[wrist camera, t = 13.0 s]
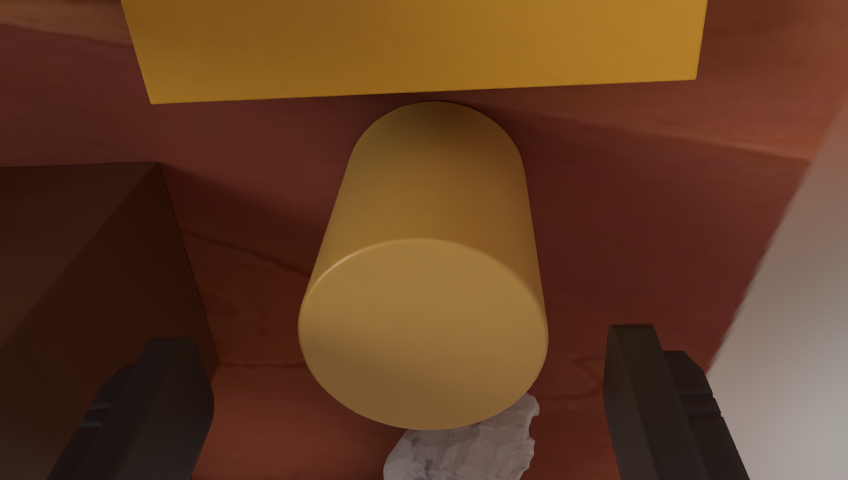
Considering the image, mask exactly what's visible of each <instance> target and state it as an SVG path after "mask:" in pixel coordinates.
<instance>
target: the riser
mask: <svg viewBox="0 0 848 480" xmlns="http://www.w3.org/2000/svg"><path fill="white" fill-rule="evenodd" d="M187 336H190V337H192V338H194V340H195V341H196V343H197V346H198V349H199V352H200V355H201V358H202V361H203V364H204V367H205V370H206V373H207V376H208V379H209V382H210V384H211V382H212V380H213V377H214V375H215V373H216V370H217V368H218V366H219V360H218V357H217V353H216V350H215V347H214V344H213V340H212V337H211V334H210V330H209V327H208V324H207V321H206V317H205V314H204V311H203V308H202V304H201V301H200V298H199V295H198V291H197V288H196V285H195V282H194V278H193V275H192V272H191V269H190V265H189V262H188V259H187V256H186V252H185V249H184V246H183V243H182V239H181V236H180V233H179V229H178V226H177V223H176V220H175V216H174V213H173V210H172V207H171V203H170V200H169V197H168V194H167V190H166V187H165V184H164V181H163V177H162V174H161V171H160V168H159V164H158V162H140V163H114V164H87V165H61V166H34V167H8V168H0V480H46V479H47V477H48V476H49V474H50V472H51V471H52V469H53V467H54V466H55V464H56V462H57V461H58V459H59V457H60V456H61V454H62V452H63V451H64V449H65V447H66V445H67V444H68V442H69V440H70V439H71V437H72V435H73V434H74V432H75V430H76V429H79V427H80V425H79V424H80V422H81V420H82V419H83V417H84V415H85V413H86V412H87V410H90V405H91V403H92V402H93V400H94V398H95V397H96V395H97V393H98V392H99V390H100V388H101V387H102V385H103V384H104V383H105V382H106V381H107V380H108V379H109V378H110V377H111V376H113V375H114V374H115V373H116V372H117V371H118V370H119V369H120V368H121V367H123V366H124V365H132V364H135V363H136V362H137V360H138V358H139V356H140V355H141V353H142V351H143V349H144V347H145V346H146V344H147V342H148V341H149V340H150V339H151V338H154V337H187Z"/></svg>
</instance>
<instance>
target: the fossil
mask: <svg viewBox="0 0 848 480" xmlns="http://www.w3.org/2000/svg"><path fill="white" fill-rule="evenodd" d="M539 408H540V407H539V405H538V403H537V401H536V399H535V397H534V396H532V395H529V394H528V393H527V392H526V393H525V394H524V395H523V396H522V397H521V398H520V399H518V400H517V401H516V402H515V403H514V404H512V405H511V406H510V407H508V408H506V409H505V410H503V411H502V412H500V413H498V414H496V415H494V416H492V417H490V418H488V419H486V420H483V421H480V422H477V423H474V424H471V425H467V426H462V427H458V428H451V429H443V430H415V429H408V430H406V431H405V433H404V434H403V436H402V437H401V439H400V440H399V441H398V443H397V444H396V446H395V447H394V449H393V450H392V452H391V453H390V454H389V455H388V457H387V460H386V462H385V464H384V469H383V476H384V480H519V479H520V477H521V475H522V473H523V472H524V471H525V470H527V469H528V468H529V465H530V461H531V459H532V457H533V455H534V450H533V449H534V444H535V440H534V439H532V438H531V437H530V436H529V425H530V423H531V420H532V417H533V416H537V415H539Z"/></svg>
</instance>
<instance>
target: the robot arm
mask: <svg viewBox="0 0 848 480" xmlns="http://www.w3.org/2000/svg"><path fill="white" fill-rule="evenodd" d="M603 398H604V408H605V414H606V419H607V423H608V427H609V432H610V436H611V440H612V444H613V448H614V452H615V456H616V460H617V465H618V469H619V473H620V477H621V480H750V479H749V477H748V474H747V472H746V470H745V467H744V465H743V463H742V460H741V458H740V456H739V454H738V451H737V449H736V446H735V444H734V442H733V439H732V437H731V435H730V432H729V430H728V428H727V425H726V423H725V421H724V419H723V417H721V411H720V409H719V407H718V404H717V402H716V400H715V398H713V393H712V390H711V388H710V386H709V383H708V381H707V379H706V376H705V374H704V372H703V370H702V369H701V368H700V367H699V366H698V365H697V364H696V363H695V362H694V361H693V360H692V359H691V358H690V357H689V356H688V355H687V354H686V353H685V352H684V351H662V348H661V345H660V343H659V340H658V337H657V335H656V332H655V329H654V327H653V326H652V324H622V325H610V327H609V331H608V340H607V350H606V361H605V371H604V382H603ZM213 414H214V396H213V391H212V388H211V385H210V382H209V379H208V376H207V373H206V370H205V367H204V364H203V361H202V358H201V355H200V352H199V349H198V346H197V343H196V341H195V340H194V338H192V337H190V336H187V337H154V338H151V339H150V340H149V341H148V342H147V344H146V346H145V347H144V349H143V351H142V353H141V355H140V356H139V358H138V360H137V362H136V363H135V364H132V365H124V366H123V367H121V368H120V369H119V370H118V371H117V372H116V373H115V374H114V375H113V376H111V377H110V378H109V379H108V380H107V381H106V382H105V383H104V384H103V385H102V387H101V388H100V390H99V392H98V393H97V395H96V397H95V398H94V400H93V402H92V403H91V405H90V410H87V412H86V413H85V415H84V417H83V419H82V420H81V422H80V424H79V425H80V427H79V429H76V430H75V432H74V434H73V435H72V437H71V439H70V440H69V442H68V444H67V445H66V447H65V449H64V451H63V452H62V454H61V456H60V457H59V459H58V461H57V462H56V464H55V466H54V467H53V469H52V471H51V472H50V474H49V476H48V477H47V479H46V480H190V478H191V475H192V473H193V470H194V468H195V465H196V462H197V460H198V457H199V455H200V452H201V449H202V447H203V444H204V442H205V439H206V436H207V434H208V431H209V429H210V426H211V423H212V419H213Z"/></svg>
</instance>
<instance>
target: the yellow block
mask: <svg viewBox="0 0 848 480" xmlns="http://www.w3.org/2000/svg"><path fill="white" fill-rule="evenodd" d="M120 2H121V5H122V9H123V12H124V15H125V19H126V22H127V25H128V29H129V32H130V35H131V39H132V42H133V46H134V49H135V52H136V56H137V59H138V62H139V66H140V69H141V72H142V76H143V79H144V82H145V86H146V89H147V93H148V96H149V99H150V103H151V104H168V103H190V102H212V101H234V100H256V99H279V98H301V97H323V96H345V95H367V94H390V93H412V92H434V91H456V90H478V89H501V88H523V87H545V86H567V85H589V84H612V83H634V82H656V81H678V80H695V79H696V76H697V69H698V62H699V56H700V49H701V43H702V36H703V29H704V23H705V16H706V9H707V3H708V0H120Z"/></svg>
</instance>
